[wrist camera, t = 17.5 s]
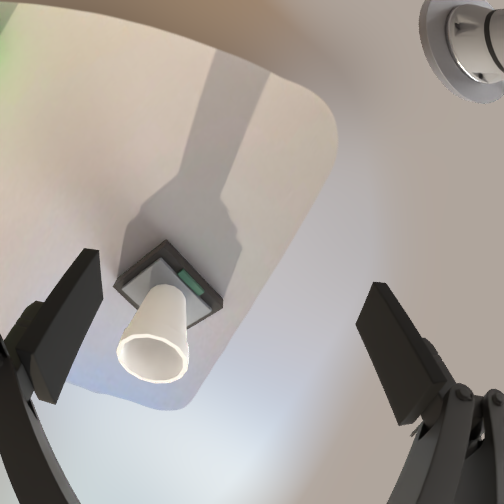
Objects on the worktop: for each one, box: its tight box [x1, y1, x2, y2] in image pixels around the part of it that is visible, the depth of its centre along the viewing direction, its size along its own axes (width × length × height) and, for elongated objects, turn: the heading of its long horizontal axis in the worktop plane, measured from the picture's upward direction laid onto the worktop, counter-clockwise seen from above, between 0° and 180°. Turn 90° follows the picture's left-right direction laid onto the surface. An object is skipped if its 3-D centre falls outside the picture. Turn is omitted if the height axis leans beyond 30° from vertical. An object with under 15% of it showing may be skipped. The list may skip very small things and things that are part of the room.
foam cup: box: [116, 284, 189, 383], centre depth 44 cm, size 10×9×13 cm
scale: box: [113, 240, 223, 329], centre depth 51 cm, size 14×12×3 cm
